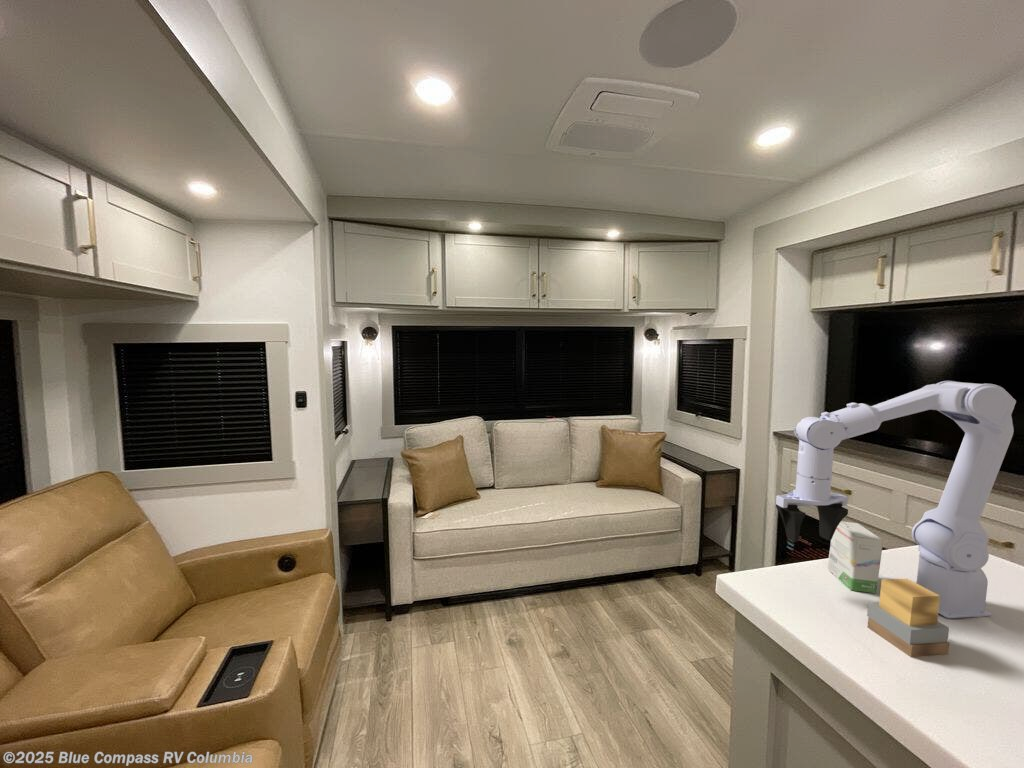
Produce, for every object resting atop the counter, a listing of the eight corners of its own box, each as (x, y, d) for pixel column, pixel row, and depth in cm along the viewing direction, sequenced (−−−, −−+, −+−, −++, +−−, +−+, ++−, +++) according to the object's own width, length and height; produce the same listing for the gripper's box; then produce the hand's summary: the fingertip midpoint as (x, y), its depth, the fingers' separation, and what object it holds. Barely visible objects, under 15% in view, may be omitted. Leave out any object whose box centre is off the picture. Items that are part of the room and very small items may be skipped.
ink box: (826, 569, 90) (830, 519, 89) (852, 571, 89) (856, 521, 88) (850, 591, 82) (855, 536, 81) (879, 594, 81) (884, 539, 80)
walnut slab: (901, 627, 72) (902, 614, 71) (947, 657, 65) (949, 643, 65) (867, 630, 71) (868, 617, 71) (910, 660, 64) (911, 645, 64)
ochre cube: (904, 605, 70) (907, 578, 70) (936, 624, 65) (940, 595, 65) (878, 606, 70) (881, 579, 69) (909, 625, 65) (912, 597, 64)
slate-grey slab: (901, 613, 72) (902, 600, 72) (947, 642, 65) (949, 627, 65) (866, 615, 71) (868, 602, 71) (909, 644, 64) (911, 630, 64)
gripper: (828, 469, 86) (823, 529, 87) (766, 470, 84) (762, 531, 85) (859, 479, 79) (854, 544, 80) (793, 480, 77) (788, 547, 79)
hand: (808, 538), depth 82 cm, fingers open, 7 cm apart
